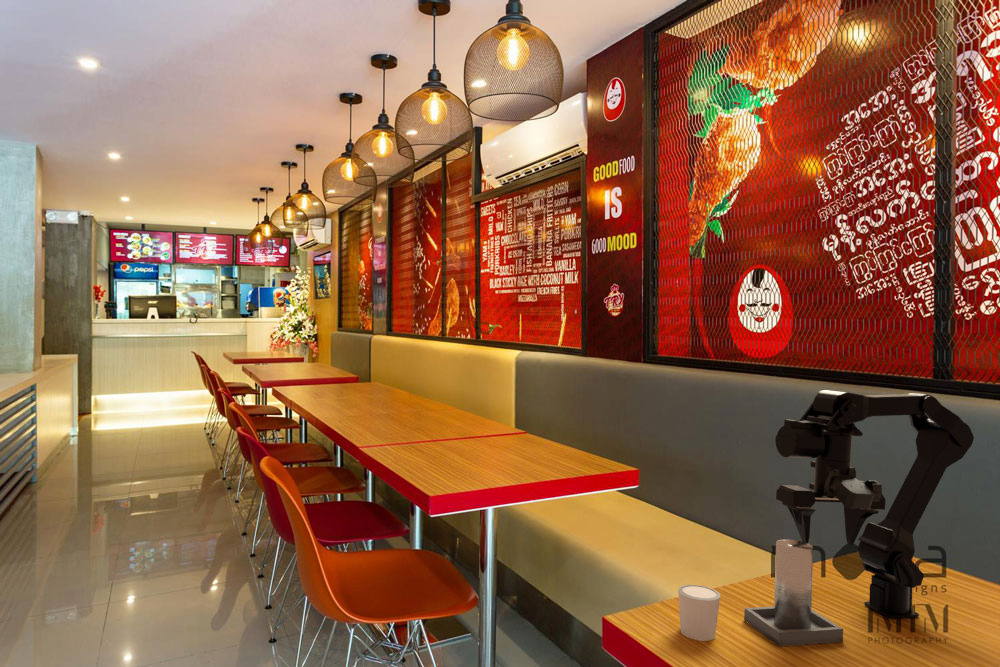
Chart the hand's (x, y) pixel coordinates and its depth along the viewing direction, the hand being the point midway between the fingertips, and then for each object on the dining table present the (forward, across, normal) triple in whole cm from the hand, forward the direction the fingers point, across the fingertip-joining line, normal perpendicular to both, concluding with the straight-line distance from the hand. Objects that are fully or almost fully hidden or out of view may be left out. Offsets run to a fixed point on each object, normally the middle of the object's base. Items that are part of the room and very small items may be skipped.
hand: (827, 544), depth 118 cm
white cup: (+14, -27, -5) cm, 31 cm away
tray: (+13, -10, -5) cm, 18 cm away
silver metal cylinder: (+12, -10, -5) cm, 17 cm away
